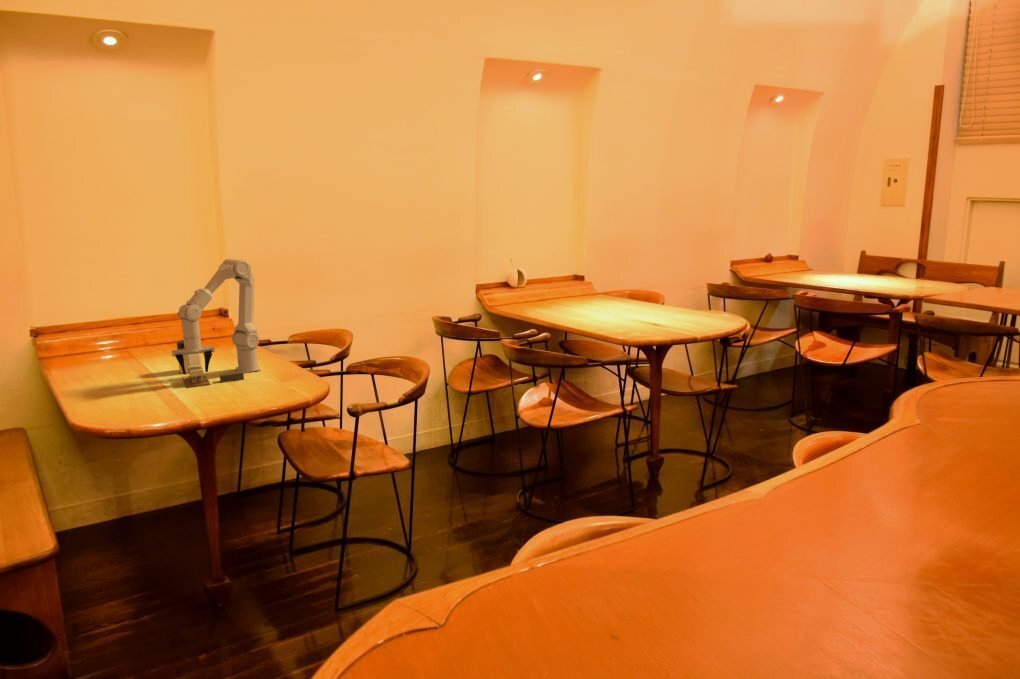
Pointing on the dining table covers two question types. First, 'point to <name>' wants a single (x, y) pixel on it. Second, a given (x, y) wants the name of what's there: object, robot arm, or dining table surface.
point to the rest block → (231, 376)
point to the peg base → (196, 381)
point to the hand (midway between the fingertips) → (195, 372)
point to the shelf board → (195, 370)
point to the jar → (188, 357)
